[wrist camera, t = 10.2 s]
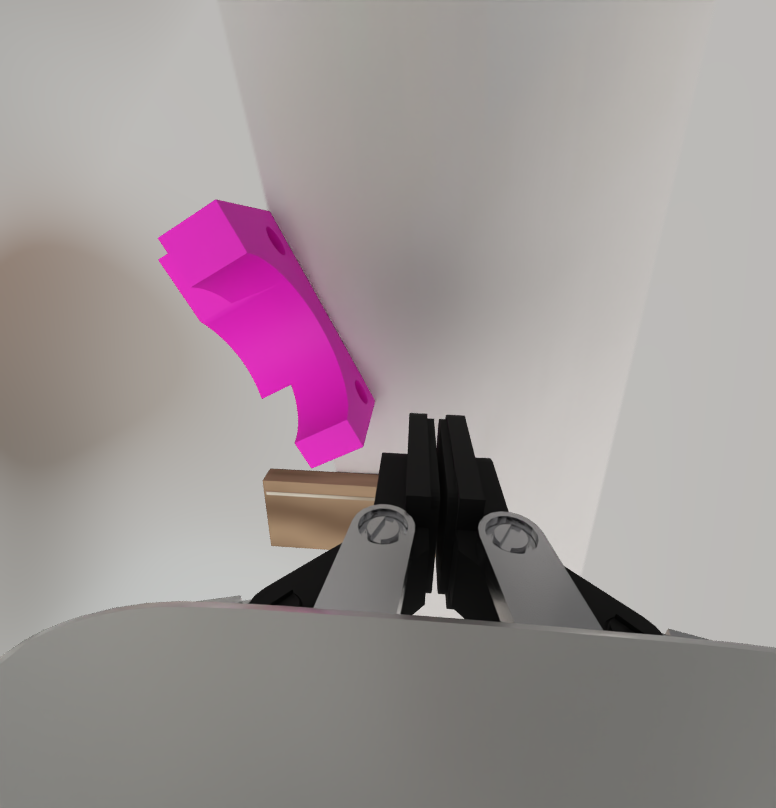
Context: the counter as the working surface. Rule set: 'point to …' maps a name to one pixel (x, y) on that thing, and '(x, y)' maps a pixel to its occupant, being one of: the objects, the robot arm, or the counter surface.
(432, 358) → the counter surface
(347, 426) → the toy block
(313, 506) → the plank
